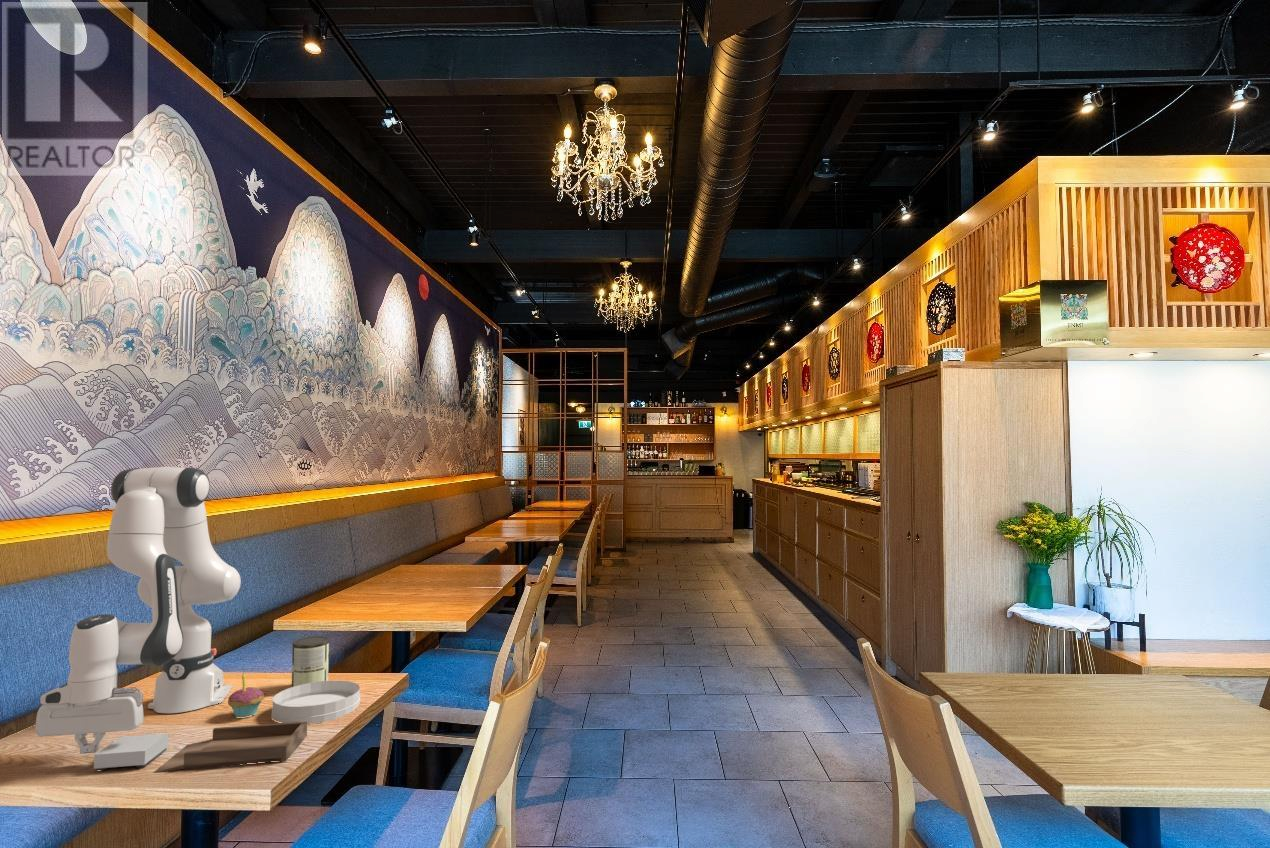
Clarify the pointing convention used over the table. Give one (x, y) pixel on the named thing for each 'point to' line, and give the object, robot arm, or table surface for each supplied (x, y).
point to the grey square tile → (131, 751)
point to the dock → (240, 746)
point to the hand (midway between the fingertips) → (89, 752)
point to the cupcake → (245, 700)
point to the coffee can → (310, 660)
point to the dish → (316, 702)
